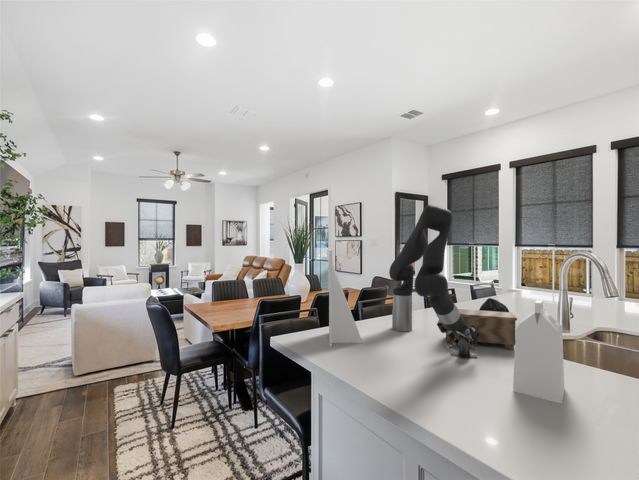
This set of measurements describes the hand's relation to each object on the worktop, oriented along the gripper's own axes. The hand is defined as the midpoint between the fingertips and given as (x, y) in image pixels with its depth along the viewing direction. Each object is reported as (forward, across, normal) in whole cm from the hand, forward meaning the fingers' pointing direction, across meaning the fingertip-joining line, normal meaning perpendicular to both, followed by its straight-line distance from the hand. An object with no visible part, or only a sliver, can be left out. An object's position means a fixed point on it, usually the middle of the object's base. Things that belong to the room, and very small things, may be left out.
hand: (464, 340), depth 125 cm
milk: (-3, -28, +12) cm, 30 cm away
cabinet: (+19, +4, -11) cm, 22 cm away
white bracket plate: (-9, +44, +18) cm, 49 cm away
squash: (+45, +13, -36) cm, 59 cm away
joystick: (+6, +2, +2) cm, 7 cm away
